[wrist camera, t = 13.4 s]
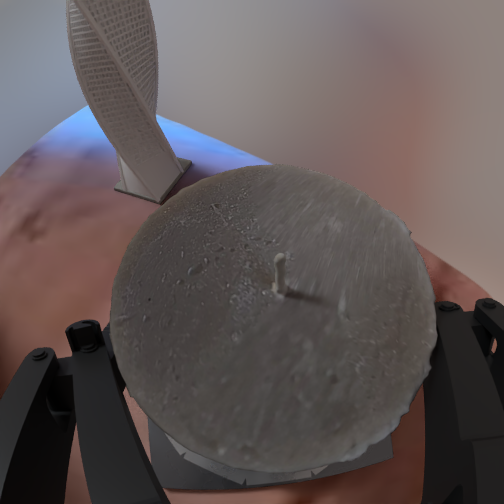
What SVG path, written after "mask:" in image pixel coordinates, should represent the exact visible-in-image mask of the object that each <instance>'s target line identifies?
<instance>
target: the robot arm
mask: <svg viewBox="0 0 504 504" xmlns="http://www.w3.org/2000/svg"><path fill="white" fill-rule="evenodd" d="M434 306H435V312H436V331H437V335H438V336H437V341H436V346H435V348H434V349H433V351H432V355H431V357H430V365H431V366H432V368H431V370H430V371H429V375H428V376H427V377H426V378H425V380H424V381H423V389H424V405H425V469H424V485H423V496H422V501H421V504H504V306H503V305H502V304H501V303H499V302H497V301H495V300H493V299H491V298H485V299H479V300H477V301H476V304H475V309H474V311H467V312H464V311H463V309H462V308H461V307H460V305H458V304H456V303H453V302H449V301H441V302H436V303H435V302H434ZM65 333H66V336H67V339H68V342H69V344H70V347H71V350H72V356H71V357H65V358H58V359H57V357H56V354H55V351H54V350H53V349H52V348H47V347H44V348H37V349H34V350H33V351H32V352H30V353H29V354H28V355H27V356H26V357H25V359H24V360H23V362H22V364H21V365H20V367H19V369H18V370H17V372H16V374H15V375H14V377H13V379H12V381H11V382H10V384H9V386H8V388H7V389H6V391H5V393H4V395H3V397H2V398H1V400H0V504H64V500H65V489H66V481H67V473H68V466H69V459H70V453H71V447H72V441H73V436H74V431H75V426H76V423H77V431H78V438H79V445H80V451H81V457H82V462H83V467H84V472H85V477H86V482H87V486H88V490H89V494H90V498H91V502H92V504H171V503H170V502H169V500H168V498H167V496H166V494H165V492H164V490H163V488H162V486H161V484H160V482H159V480H158V478H157V476H156V474H155V472H154V470H153V468H152V465H151V463H150V461H149V459H148V456H147V454H146V452H145V450H144V447H143V445H142V442H141V440H140V437H139V435H138V432H137V430H136V427H135V425H134V422H133V419H132V417H131V414H130V411H129V408H128V406H127V403H126V400H125V397H124V395H123V391H124V389H125V387H127V385H126V383H125V381H124V379H123V377H122V375H121V372H120V370H119V368H118V364H117V361H116V357H115V354H114V351H113V346H112V342H111V335H110V323H108V325H107V327H105V328H104V330H103V331H101V328H100V324H99V322H98V321H96V320H82V321H79V322H75V323H73V324H72V325H70V326H69V327H67V328H66V331H65ZM494 339H496V341H497V348H496V351H495V353H493V352H492V351H491V349H492V346H493V343H494ZM127 390H128V392H129V395H130V397H133V396H132V395H131V393H130V391H129V389H128V387H127Z"/></svg>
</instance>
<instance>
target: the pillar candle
mask: <svg viewBox="0 0 504 504" xmlns="http://www.w3.org/2000/svg"><path fill="white" fill-rule="evenodd" d="M410 234H411V231H410V230H408V228H407V227H406V225H405V223H404V222H403V221H402V220H401V219H400V218H399V217H398V216H397V215H396V214H394V213H393V212H391V211H390V210H385V209H384V208H382V207H381V206H380V205H379V204H378V203H377V201H375V200H373V199H371V198H370V197H369V196H368V195H367V194H366V193H364V192H362V191H360V190H358V189H357V188H355V187H353V186H352V185H349V184H348V183H346V182H344V181H341V180H339V179H337V178H335V177H332V176H329V175H327V174H324V173H321V172H317V171H313V170H309V169H305V168H298V167H295V166H290V165H281V164H275V165H257V166H246V167H242V168H238V169H234V170H229V171H225V172H222V173H219V174H216V175H214V176H211V177H207V178H204V179H202V180H200V181H198V182H196V183H195V184H193V185H190V186H188V187H185V188H183V189H181V190H180V191H179V192H178V193H177V194H176V195H174V196H173V197H171V198H169V200H167V201H166V202H165V203H164V204H163V205H162V206H160V208H158V209H157V210H156V211H155V212H154V213H152V214H151V215H150V216H149V217H148V219H147V220H146V221H145V222H144V223H143V224H142V226H141V227H140V229H139V231H138V232H137V233H136V235H135V236H134V237H133V239H132V241H131V242H130V244H129V245H128V247H127V250H126V252H125V254H124V256H123V259H122V262H121V265H120V267H119V269H118V273H117V275H116V277H115V278H114V284H113V288H112V298H111V311H110V322H109V323H110V335H111V342H112V346H113V351H114V354H115V357H116V361H117V364H118V368H119V370H120V372H121V375H122V377H123V379H124V381H125V383H126V385H127V387H128V389H129V391H130V393H131V395H132V396H133V398H134V399H135V401H136V402H137V404H138V405H139V407H140V408H141V409H142V410H143V411H144V412H145V414H146V415H147V416H148V417H149V418H150V419H151V420H152V421H153V423H154V424H155V425H157V426H158V427H159V428H160V429H161V430H162V431H163V432H165V433H166V434H167V435H168V436H170V437H171V438H172V439H174V440H175V441H176V442H177V443H178V444H180V445H182V446H183V447H185V448H186V449H188V450H189V451H192V452H194V453H196V454H198V455H201V456H203V457H205V458H207V459H210V460H213V461H215V462H217V463H220V464H223V465H226V466H229V467H232V468H236V469H240V470H248V471H254V472H265V473H293V472H300V471H306V470H311V469H316V468H319V467H323V466H326V465H330V464H333V463H337V462H346V461H352V460H354V459H357V458H359V457H361V456H362V455H363V454H364V453H366V451H367V449H368V448H369V447H370V446H371V445H374V444H377V443H379V442H380V441H382V440H385V438H386V437H387V436H388V435H389V434H391V433H392V432H393V431H395V430H396V428H397V427H398V425H399V424H400V420H401V417H402V416H403V415H404V414H407V413H408V412H409V407H410V404H411V402H412V401H413V400H414V398H415V396H416V394H417V392H418V390H419V388H420V387H421V385H422V383H423V381H424V380H425V378H426V377H427V376H428V375H429V371H430V370H431V368H432V366H431V365H430V357H431V355H432V351H433V349H434V348H435V346H436V341H437V336H438V335H437V331H436V312H435V306H434V302H435V300H436V298H435V294H434V291H433V287H432V284H431V281H430V277H429V275H428V272H427V269H426V266H425V263H424V260H423V258H422V257H421V255H420V253H419V252H418V249H417V248H416V246H415V243H414V242H413V240H412V239H411V238H410Z"/></svg>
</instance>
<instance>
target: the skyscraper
mask: <svg viewBox="0 0 504 504" xmlns="http://www.w3.org/2000/svg"><path fill="white" fill-rule="evenodd" d="M66 17H67V32H68V40H69V47H70V53H71V57H72V62H73V65H74V69H75V72H76V75H77V79H78V81H79V84H80V86H81V89H82V92H83V94H84V96H85V98H86V101H87V103H88V105H89V107H90V109H91V111H92V113H93V115H94V116H95V118H96V120H97V122H98V124H99V125H100V127H101V128H102V130H103V132H104V133H105V135H106V136H107V138H108V140H109V141H110V142H111V144H112V145H113V147H114V148H115V150H116V154H117V161H118V166H119V172H120V178H121V180H120V181H119V182H118V183H117V185H116V186H115V187H114V189H115V190H116V191H119V192H122V193H126V194H129V195H132V196H135V197H139V198H142V199H145V200H148V201H151V202H154V203H158V204H161V203H162V201H163V200H164V199H165V197H166V196H167V195H168V193H169V192H170V191H171V189H172V188H173V187H174V185H175V184H176V183H177V182H178V180H179V179H180V178H181V176H182V175H183V174H184V173H185V171H186V170H187V169H188V168H189V166H190V165H191V164H192V161H191V160H186V159H182V158H177V157H176V156H175V154H174V152H173V150H172V148H171V146H170V144H169V142H168V141H167V139H166V137H165V135H164V133H163V132H162V130H161V128H160V126H159V124H158V123H157V120H156V107H157V96H158V95H157V94H158V50H157V40H156V33H155V26H154V21H153V16H152V12H151V8H150V4H149V0H67V1H66Z"/></svg>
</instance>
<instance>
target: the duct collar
mask: <svg viewBox="0 0 504 504" xmlns="http://www.w3.org/2000/svg"><path fill="white" fill-rule="evenodd" d="M148 429H149V442H150V454H151V464H152V468H153V470H154V472H155V474H156V476H157V478H158V480H159V482H160V484H161V486H162V488H173V489H199V490H216V489H242V488H255V487H266V486H274V485H282V484H289V483H296V482H302V481H307V480H313V479H318V478H323V477H327V476H332V475H336V474H340V473H344V472H348V471H352V470H355V469H359V468H362V467H366V466H369V465H372V464H376V463H379V462H382V461H385V460H388V459H391V458H393V449H392V440H391V434H389V435H388V436H387V437H386V438H385V440H382V441H380V442H379V443H377V444H374V445H371V446H370V447H369V448H368V449H367V451H366V453H364V454H363V455H362V456H361V457H359V458H357V459H354V460H352V461H346V462H337V463H333V464H330V465H326V466H323V467H319V468H316V469H311V470H306V471H300V472H293V473H265V472H254V471H248V470H240V469H236V468H232V467H229V466H226V465H223V464H220V463H217V462H215V461H213V460H210V459H207V458H205V457H203V456H201V455H198V454H196V453H194V452H192V451H189V450H188V449H186V448H185V447H183V446H182V445H180V444H178V443H177V442H176V441H175V440H174V439H172V438H171V437H170V436H168V435H167V434H166V433H165V432H163V431H162V430H161V429H160V428H159V427H158V426H157V425H155V424H154V423H153V421H152V420H151V419H150V418H149V417H148Z"/></svg>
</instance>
